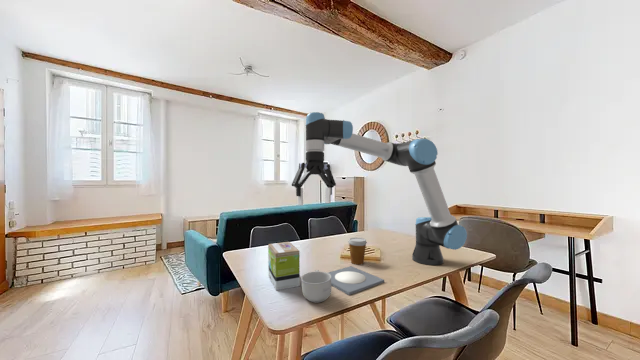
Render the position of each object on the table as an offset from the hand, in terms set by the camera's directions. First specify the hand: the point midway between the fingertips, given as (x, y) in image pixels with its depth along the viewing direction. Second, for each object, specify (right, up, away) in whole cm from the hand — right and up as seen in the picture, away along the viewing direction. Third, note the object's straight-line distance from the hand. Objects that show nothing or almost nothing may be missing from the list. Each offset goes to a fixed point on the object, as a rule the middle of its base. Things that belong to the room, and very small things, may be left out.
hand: (314, 203), depth 99 cm
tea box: (-13, -33, +3) cm, 36 cm away
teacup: (+1, -33, -10) cm, 35 cm away
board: (+15, -33, +5) cm, 36 cm away
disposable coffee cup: (+21, -33, +26) cm, 47 cm away
